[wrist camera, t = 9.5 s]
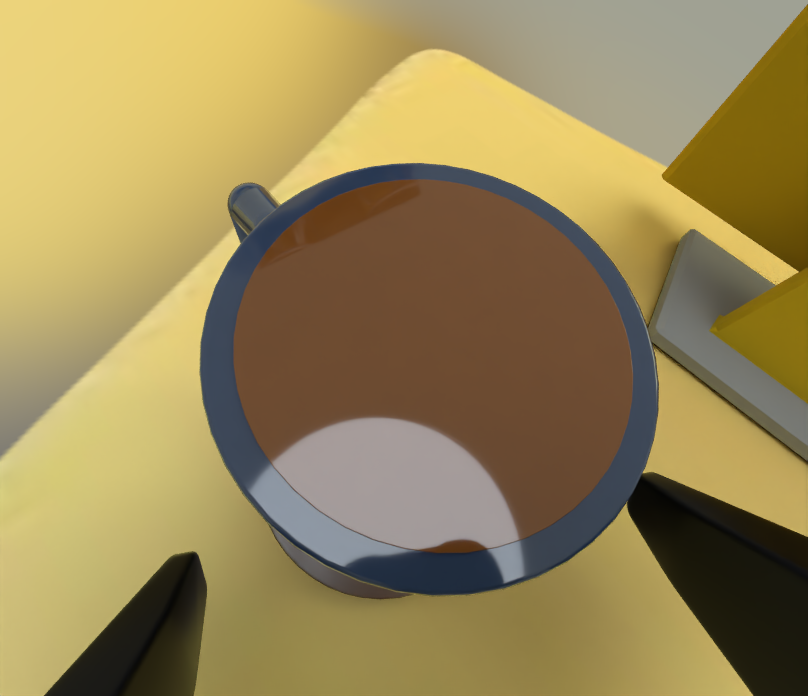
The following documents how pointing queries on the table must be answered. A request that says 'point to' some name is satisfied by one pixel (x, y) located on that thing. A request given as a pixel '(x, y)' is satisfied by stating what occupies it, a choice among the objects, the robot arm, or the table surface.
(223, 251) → the table surface
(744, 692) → the table surface
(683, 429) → the table surface
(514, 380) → the mug
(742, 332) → the toy computer monitor
